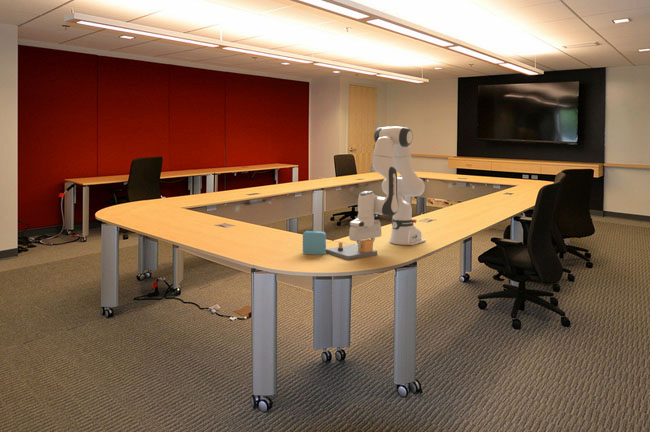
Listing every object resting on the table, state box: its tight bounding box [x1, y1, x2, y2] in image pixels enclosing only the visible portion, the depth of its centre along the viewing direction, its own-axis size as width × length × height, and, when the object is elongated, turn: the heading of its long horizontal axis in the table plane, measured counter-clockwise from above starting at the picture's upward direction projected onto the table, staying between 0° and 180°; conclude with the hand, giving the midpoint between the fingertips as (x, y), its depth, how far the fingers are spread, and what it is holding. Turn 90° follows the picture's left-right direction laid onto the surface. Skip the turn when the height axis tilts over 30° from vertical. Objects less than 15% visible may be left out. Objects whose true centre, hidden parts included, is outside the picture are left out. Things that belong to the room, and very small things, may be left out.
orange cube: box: [358, 238, 374, 252], centre depth 276 cm, size 6×6×6 cm
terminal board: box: [324, 241, 378, 261], centre depth 279 cm, size 20×20×6 cm
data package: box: [302, 230, 327, 256], centre depth 278 cm, size 12×4×12 cm, turn 80°
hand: (365, 246), depth 276 cm, fingers open, 6 cm apart
